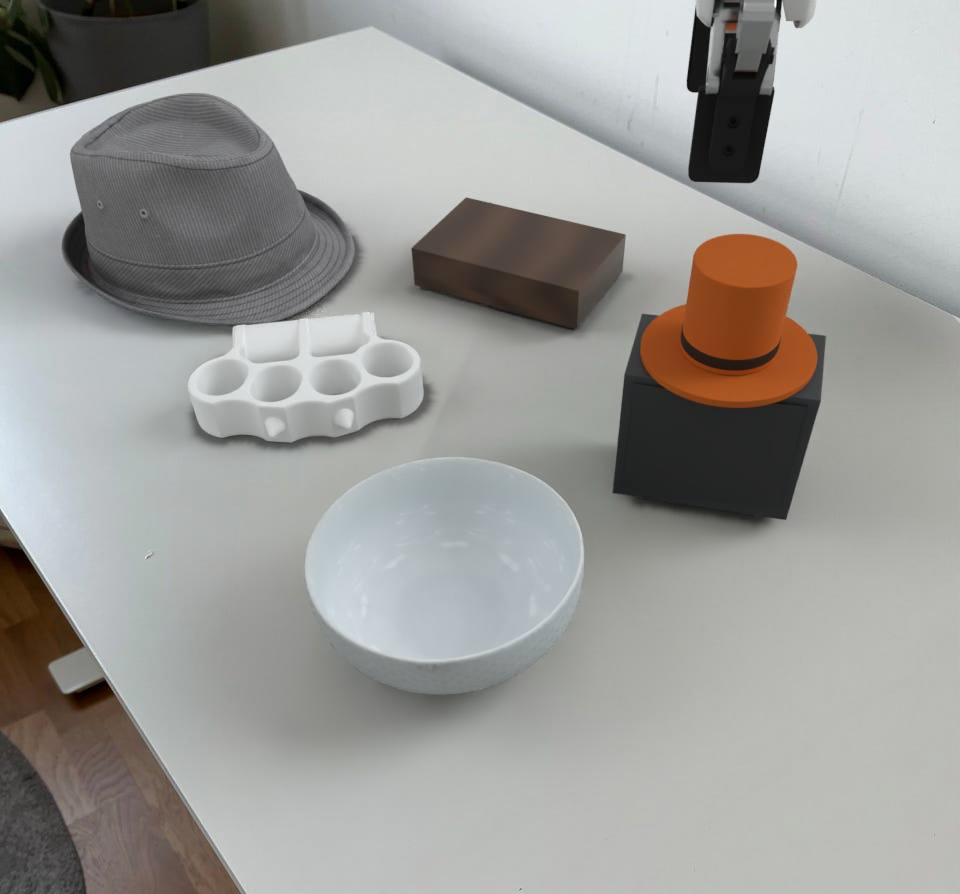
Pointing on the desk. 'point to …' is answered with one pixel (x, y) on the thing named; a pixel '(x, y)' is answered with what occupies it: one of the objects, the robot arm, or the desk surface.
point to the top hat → (733, 328)
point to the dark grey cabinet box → (712, 444)
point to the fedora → (198, 217)
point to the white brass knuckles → (306, 380)
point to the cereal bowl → (445, 573)
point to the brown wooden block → (519, 262)
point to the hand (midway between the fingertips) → (719, 132)
